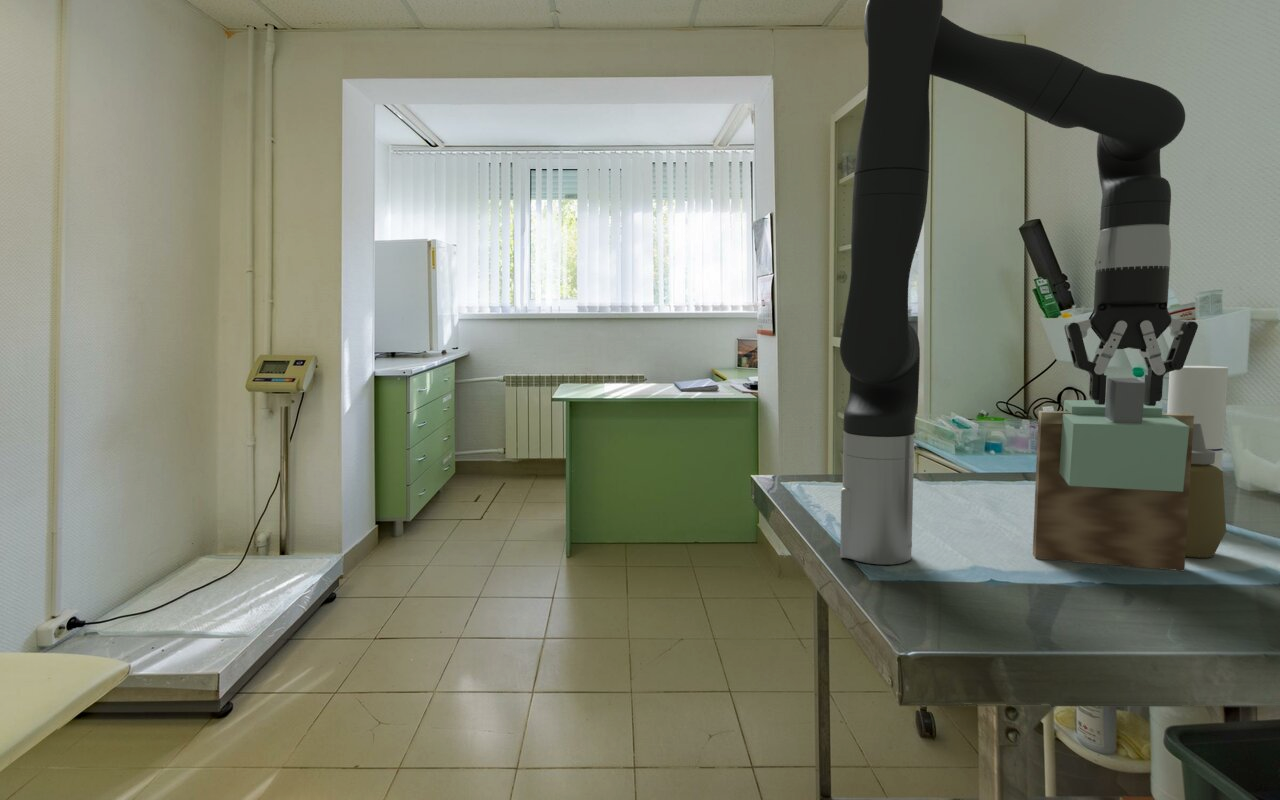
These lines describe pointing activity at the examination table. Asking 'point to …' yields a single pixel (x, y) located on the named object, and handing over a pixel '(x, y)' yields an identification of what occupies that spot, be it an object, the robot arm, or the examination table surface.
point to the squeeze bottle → (1204, 501)
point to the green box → (1122, 442)
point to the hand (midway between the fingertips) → (1124, 404)
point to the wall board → (1106, 512)
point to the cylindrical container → (1202, 402)
